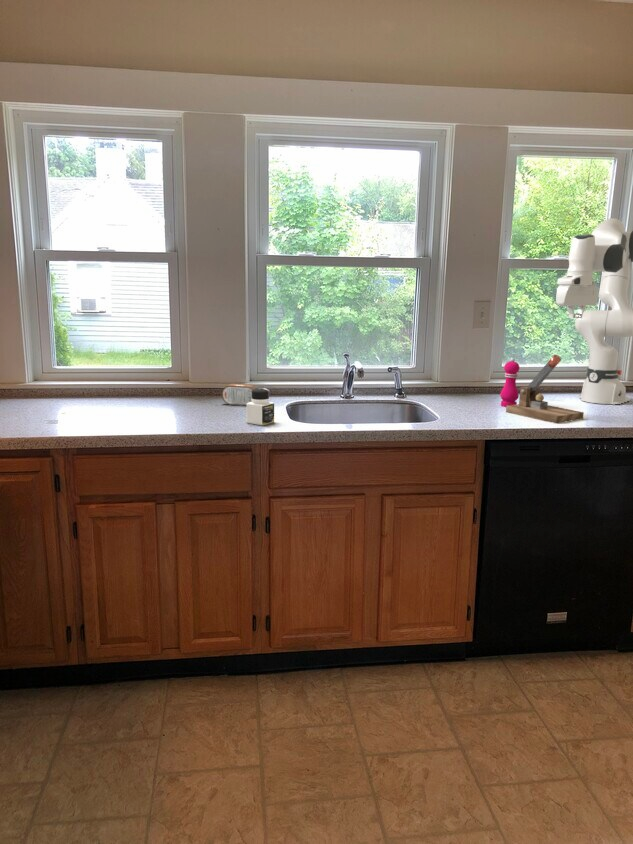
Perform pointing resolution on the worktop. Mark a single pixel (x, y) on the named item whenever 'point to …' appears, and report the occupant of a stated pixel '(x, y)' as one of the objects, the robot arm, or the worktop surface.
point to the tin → (237, 394)
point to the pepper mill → (510, 384)
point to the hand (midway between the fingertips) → (575, 318)
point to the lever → (544, 373)
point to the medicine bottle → (260, 408)
